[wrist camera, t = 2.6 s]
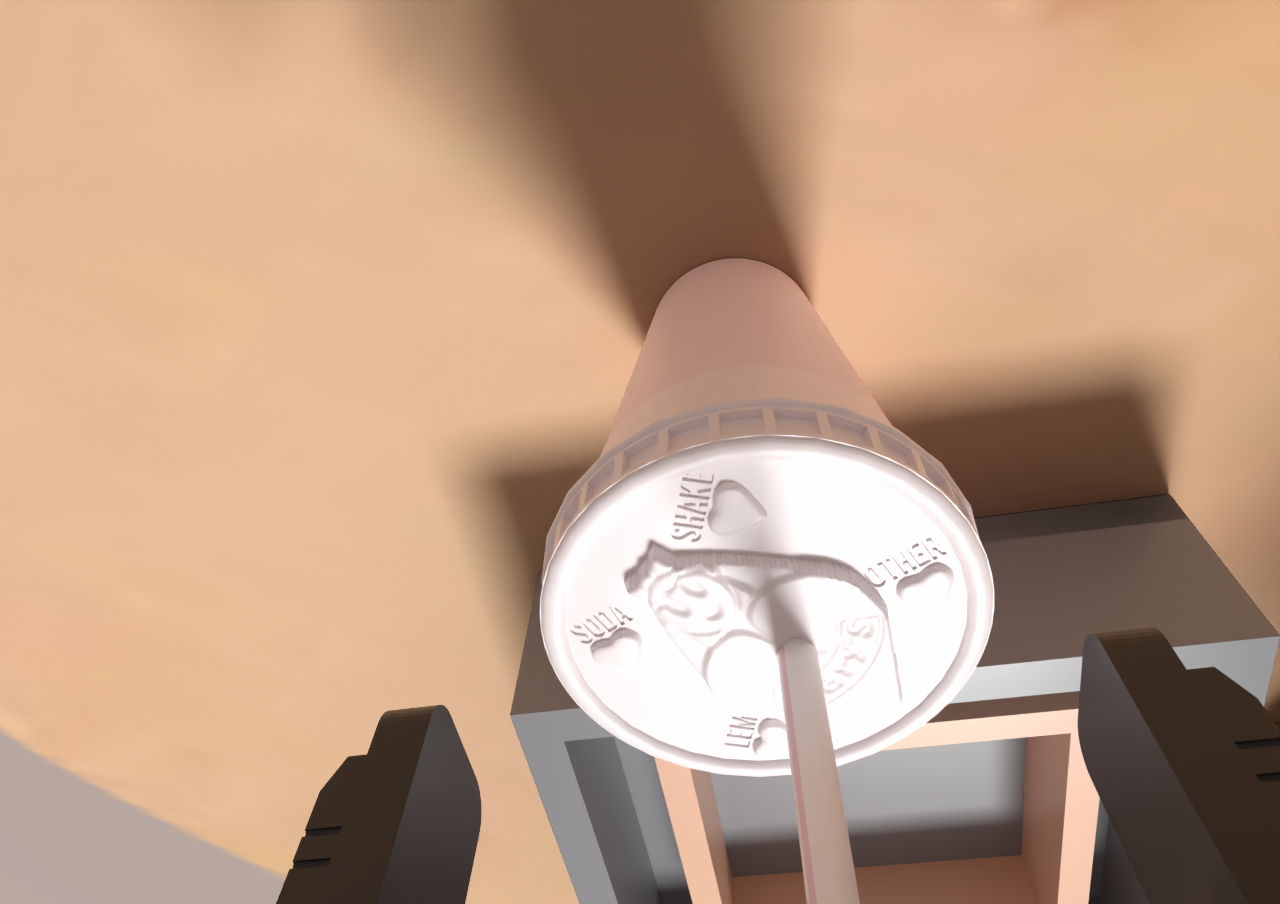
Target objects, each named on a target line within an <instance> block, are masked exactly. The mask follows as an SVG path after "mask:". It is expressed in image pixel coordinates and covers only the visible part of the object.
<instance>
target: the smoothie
mask: <svg viewBox="0 0 1280 904" xmlns="http://www.w3.org/2000/svg"><path fill="white" fill-rule="evenodd" d="M541 582H542V591H541V596H540V624H541V632H542V637H543V642H544V646H545V649H546V652H547V655H548V658H549V661H550V663H551V665H552V667H553V669H554V671H555V673H556V675H557V677H558V679H559V680H560V682H561V683H562V685H563V687H564V688H565V690H566V691H567V692H568V694H569V695H570V696H571V697H572V699H573V700H574V701H575V702H576V703H577V705H578V706H579V707H580V708H581V709H582V710H583V711H584V712H585V713H586V714H587V715H588V716H589V717H591V718H592V719H593V720H594V721H595V722H597V723H598V724H599V725H600V726H601V727H603V728H604V729H605V730H607V731H608V732H610V733H611V734H613V735H614V736H615V737H617V738H618V739H620V740H622V741H624V742H626V743H627V744H629V745H631V746H633V747H635V748H637V749H639V750H641V751H643V752H645V753H647V754H649V755H651V756H654V757H657V758H660V759H662V760H665V761H668V762H671V763H674V764H677V765H680V766H683V767H686V768H691V769H696V770H701V771H706V772H712V773H717V774H722V775H737V776H754V777H766V776H781V775H792V783H793V792H794V800H795V809H796V817H797V826H798V834H799V842H800V851H801V859H802V868H803V876H804V884H805V893H806V901H807V904H860V900H859V894H858V888H857V883H856V877H855V871H854V865H853V859H852V853H851V847H850V841H849V836H848V830H847V824H846V818H845V812H844V806H843V800H842V794H841V789H840V783H839V777H838V771H837V767H838V766H841V765H843V764H846V763H849V762H852V761H855V760H858V759H861V758H864V757H867V756H869V755H872V754H875V753H877V752H879V751H881V750H882V749H884V748H886V747H888V746H890V745H892V744H894V743H896V742H898V741H900V740H902V739H904V738H905V737H907V736H909V735H910V734H911V733H913V732H914V731H916V730H917V729H919V728H920V727H921V726H923V725H924V724H926V723H927V722H928V721H929V720H931V719H932V718H933V717H934V716H936V715H937V714H938V713H939V712H940V711H941V710H942V709H943V708H944V707H945V706H946V705H947V704H948V703H949V702H950V701H951V700H952V699H953V698H954V697H955V696H956V695H957V693H958V692H959V691H960V690H961V689H962V688H963V686H964V685H965V683H966V682H967V680H968V679H969V678H970V676H971V675H972V673H973V672H974V670H975V668H976V666H977V664H978V662H979V660H980V659H981V657H982V654H983V652H984V649H985V647H986V644H987V642H988V638H989V634H990V631H991V627H992V622H993V614H994V585H993V578H992V572H991V568H990V565H989V561H988V558H987V555H986V553H985V550H984V548H983V546H982V543H981V541H980V538H979V535H978V531H977V527H976V523H975V519H974V516H973V512H972V508H971V505H970V504H969V502H968V501H967V499H966V498H965V496H964V495H963V494H962V492H961V491H960V489H959V488H958V486H957V485H956V483H955V482H954V480H953V479H952V477H951V476H950V474H949V473H948V472H947V470H946V469H945V467H944V466H943V464H942V463H941V462H940V461H938V460H937V459H936V458H934V457H933V456H932V455H931V454H929V453H928V452H927V451H925V450H924V449H923V448H922V447H920V446H919V445H918V444H916V443H915V442H914V441H913V440H911V439H910V438H909V437H907V436H906V435H905V434H904V433H902V432H901V431H900V430H898V429H897V428H894V427H893V426H892V424H891V423H890V422H889V421H888V419H887V418H886V416H885V415H884V413H883V412H882V410H881V409H880V407H879V406H878V404H877V402H876V401H875V399H874V398H873V396H872V395H871V393H870V392H869V390H868V389H867V387H866V386H865V384H864V383H863V381H862V380H861V378H860V377H859V375H858V374H857V372H856V371H855V369H854V368H853V366H852V365H851V363H850V362H849V360H848V359H847V357H846V356H845V354H844V353H843V351H842V350H841V348H840V347H839V345H838V344H837V342H836V341H835V339H834V338H833V336H832V335H831V333H830V332H829V330H828V329H827V327H826V326H825V324H824V323H823V321H822V320H821V318H820V317H819V315H818V314H817V312H816V311H815V309H814V308H813V306H812V305H811V303H810V302H809V300H808V299H807V297H806V296H805V294H804V293H803V291H802V290H801V289H800V287H799V286H798V285H797V284H796V283H795V282H794V281H793V280H792V279H791V278H790V277H789V276H788V275H786V274H785V273H783V272H782V271H780V270H779V269H777V268H775V267H773V266H771V265H768V264H766V263H763V262H760V261H756V260H751V259H742V258H730V259H721V260H716V261H712V262H709V263H706V264H703V265H701V266H698V267H696V268H694V269H692V270H691V271H689V272H688V273H686V274H685V275H683V276H682V277H681V278H679V279H678V280H677V281H676V282H675V283H674V284H673V285H672V286H671V287H670V288H669V289H668V291H667V292H666V293H665V295H664V296H663V298H662V299H661V301H660V303H659V305H658V307H657V309H656V312H655V315H654V317H653V320H652V323H651V325H650V328H649V330H648V333H647V336H646V338H645V341H644V344H643V346H642V349H641V351H640V354H639V357H638V359H637V362H636V365H635V367H634V370H633V372H632V375H631V378H630V380H629V383H628V386H627V388H626V391H625V393H624V396H623V399H622V401H621V404H620V407H619V409H618V412H617V414H616V417H615V420H614V422H613V425H612V428H611V430H610V433H609V435H608V438H607V441H606V443H605V446H604V449H603V451H602V453H601V455H600V457H599V458H598V460H597V461H596V462H595V463H594V464H593V465H592V466H591V467H590V468H589V469H588V470H587V472H586V473H585V474H584V475H583V476H582V477H581V478H580V479H579V480H578V481H577V482H576V483H575V485H574V486H573V487H572V488H571V489H570V490H569V491H568V492H567V494H566V496H565V499H564V501H563V503H562V505H561V507H560V509H559V511H558V513H557V515H556V518H555V520H554V522H553V524H552V526H551V528H550V530H549V532H548V535H547V537H546V546H545V555H544V563H543V572H542V581H541Z"/></svg>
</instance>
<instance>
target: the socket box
mask: <svg viewBox="0 0 1280 904" xmlns="http://www.w3.org/2000/svg"><path fill="white" fill-rule="evenodd" d="M974 519H975V523H976V527H977V531H978V535H979V538H980V541H981V543H982V546H983V548H984V550H985V553H986V555H987V558H988V561H989V565H990V568H991V572H992V578H993V585H994V614H993V622H992V627H991V631H990V634H989V638H988V642H987V644H986V647H985V649H984V652H983V654H982V657H981V659H980V660H979V662H978V664H977V666H976V668H975V670H974V672H973V673H972V675H971V676H970V678H969V679H968V680H967V682H966V683H965V685H964V686H963V688H962V689H961V690H960V691H959V692H958V693H957V695H956V696H955V697H954V698H953V699H952V700H951V701H950V702H949V703H948V704H947V705H946V706H945V707H944V708H943V709H942V710H941V711H940V712H939V713H938V714H937V715H936V716H934V717H933V718H932V719H931V720H929V721H928V722H927V723H926V724H924V725H923V726H921V727H920V728H919V729H917V730H916V731H914V732H913V733H911V734H910V735H909V736H907V737H905V738H904V739H902V740H900V741H898V742H896V743H894V744H892V745H890V746H888V747H886V748H884V749H882V750H881V751H879V752H877V753H875V754H872V755H869V756H867V757H864V758H861V759H858V760H855V761H852V762H849V763H846V764H843V765H841V766H838V767H837V771H838V777H839V783H840V789H841V794H842V800H843V806H844V812H845V818H846V824H847V830H848V836H849V841H850V847H851V853H852V859H853V865H854V871H855V877H856V883H857V888H858V894H859V900H860V904H1149V902H1148V900H1147V897H1146V895H1145V893H1144V891H1143V889H1142V887H1141V885H1140V882H1139V880H1138V878H1137V876H1136V874H1135V872H1134V870H1133V867H1132V865H1131V863H1130V861H1129V859H1128V857H1127V855H1126V853H1125V850H1124V848H1123V846H1122V844H1121V842H1120V840H1119V838H1118V835H1117V833H1116V831H1115V829H1114V827H1113V825H1112V823H1111V821H1110V818H1109V816H1108V814H1107V812H1106V810H1105V808H1104V806H1103V803H1102V801H1101V799H1100V797H1099V795H1098V793H1097V791H1096V788H1095V786H1094V784H1093V782H1092V780H1091V778H1090V775H1089V773H1088V771H1087V768H1086V765H1085V762H1084V759H1083V755H1082V752H1081V747H1080V742H1079V736H1078V708H1079V695H1080V682H1081V670H1082V657H1083V646H1084V641H1085V638H1086V636H1087V635H1089V634H1097V633H1106V632H1114V631H1123V630H1132V629H1141V628H1150V627H1154V628H1157V629H1158V630H1160V631H1161V633H1162V634H1163V635H1164V636H1165V637H1166V639H1167V640H1168V642H1169V643H1170V645H1171V646H1172V648H1173V649H1174V651H1175V652H1176V654H1177V655H1178V657H1179V659H1180V660H1181V662H1182V663H1183V665H1184V666H1185V668H1186V669H1197V668H1206V667H1215V668H1217V669H1218V670H1220V671H1221V672H1222V673H1224V674H1225V675H1226V676H1228V677H1229V678H1230V679H1232V680H1233V681H1235V682H1236V683H1237V684H1239V685H1240V686H1241V687H1243V688H1244V689H1246V690H1247V691H1248V692H1250V693H1251V694H1252V695H1254V696H1255V697H1257V698H1258V700H1259V701H1260V702H1261V704H1262V705H1263V707H1264V705H1265V700H1266V696H1267V692H1268V687H1269V683H1270V679H1271V674H1272V670H1273V666H1274V661H1275V657H1276V653H1277V648H1278V644H1279V640H1280V635H1279V634H1278V633H1277V631H1276V630H1275V629H1274V628H1273V626H1272V625H1271V624H1270V622H1269V621H1268V620H1267V619H1266V617H1265V616H1264V615H1263V613H1262V612H1261V611H1260V610H1259V608H1258V607H1257V606H1256V604H1255V603H1254V602H1253V601H1252V599H1251V598H1250V597H1249V595H1248V594H1247V593H1246V592H1245V590H1244V589H1243V588H1242V586H1241V585H1240V584H1239V583H1238V581H1237V580H1236V579H1235V577H1234V576H1233V575H1232V574H1231V572H1230V571H1229V570H1228V568H1227V567H1226V566H1225V565H1224V563H1223V562H1222V561H1221V559H1220V558H1219V557H1218V556H1217V554H1216V553H1215V552H1214V550H1213V549H1212V548H1211V547H1210V545H1209V544H1208V543H1207V541H1206V540H1205V539H1204V538H1203V536H1202V535H1201V534H1200V532H1199V531H1198V530H1197V529H1196V527H1195V526H1194V525H1193V523H1192V522H1191V521H1190V520H1189V518H1188V517H1187V516H1186V515H1185V513H1184V512H1183V511H1182V509H1181V508H1180V507H1179V506H1178V504H1177V503H1176V502H1175V500H1174V499H1173V498H1172V497H1171V495H1170V494H1169V495H1161V496H1153V497H1145V498H1137V499H1128V500H1120V501H1112V502H1104V503H1096V504H1088V505H1080V506H1072V507H1063V508H1055V509H1047V510H1039V511H1031V512H1023V513H1015V514H1006V515H998V516H990V517H982V518H974ZM541 581H542V572H539V576H538V581H537V586H536V591H535V596H534V601H533V606H532V611H531V616H530V620H529V625H528V630H527V635H526V640H525V645H524V650H523V655H522V660H521V664H520V669H519V674H518V679H517V684H516V689H515V694H514V699H513V704H512V708H511V713H510V716H511V719H512V722H513V724H514V727H515V730H516V733H517V735H518V738H519V741H520V743H521V746H522V749H523V752H524V754H525V757H526V760H527V762H528V765H529V768H530V771H531V773H532V776H533V779H534V781H535V784H536V787H537V789H538V792H539V795H540V798H541V800H542V803H543V806H544V808H545V811H546V814H547V817H548V819H549V822H550V825H551V827H552V830H553V833H554V835H555V838H556V841H557V844H558V846H559V849H560V852H561V854H562V857H563V860H564V863H565V865H566V868H567V871H568V873H569V876H570V879H571V882H572V884H573V887H574V890H575V892H576V895H577V898H578V900H579V903H580V904H807V901H806V893H805V884H804V876H803V868H802V859H801V851H800V842H799V834H798V826H797V817H796V809H795V800H794V792H793V783H792V775H781V776H766V777H754V776H737V775H722V774H717V773H712V772H706V771H701V770H696V769H691V768H686V767H683V766H680V765H677V764H674V763H671V762H668V761H665V760H662V759H660V758H657V757H654V756H651V755H649V754H647V753H645V752H643V751H641V750H639V749H637V748H635V747H633V746H631V745H629V744H627V743H626V742H624V741H622V740H620V739H618V738H617V737H615V736H614V735H613V734H611V733H610V732H608V731H607V730H605V729H604V728H603V727H601V726H600V725H599V724H598V723H597V722H595V721H594V720H593V719H592V718H591V717H589V716H588V715H587V714H586V713H585V712H584V711H583V710H582V709H581V708H580V707H579V706H578V705H577V703H576V702H575V701H574V700H573V699H572V697H571V696H570V695H569V694H568V692H567V691H566V690H565V688H564V687H563V685H562V683H561V682H560V680H559V679H558V677H557V675H556V673H555V671H554V669H553V667H552V665H551V663H550V661H549V658H548V655H547V652H546V649H545V646H544V642H543V637H542V632H541V624H540V596H541V591H542V582H541Z"/></svg>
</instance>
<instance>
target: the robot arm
mask: <svg viewBox="0 0 1280 904" xmlns="http://www.w3.org/2000/svg"><path fill="white" fill-rule="evenodd" d="M1078 736H1079V742H1080V747H1081V752H1082V755H1083V759H1084V762H1085V765H1086V768H1087V771H1088V773H1089V775H1090V778H1091V780H1092V782H1093V784H1094V786H1095V788H1096V791H1097V793H1098V795H1099V797H1100V799H1101V801H1102V803H1103V806H1104V808H1105V810H1106V812H1107V814H1108V816H1109V818H1110V821H1111V823H1112V825H1113V827H1114V829H1115V831H1116V833H1117V835H1118V838H1119V840H1120V842H1121V844H1122V846H1123V848H1124V850H1125V853H1126V855H1127V857H1128V859H1129V861H1130V863H1131V865H1132V867H1133V870H1134V872H1135V874H1136V876H1137V878H1138V880H1139V882H1140V885H1141V887H1142V889H1143V891H1144V893H1145V895H1146V897H1147V900H1148V902H1149V904H1280V729H1279V727H1278V726H1277V725H1276V723H1275V722H1274V721H1273V719H1272V718H1271V716H1270V715H1269V714H1268V712H1267V711H1266V709H1265V708H1264V707H1263V705H1262V704H1261V702H1260V701H1259V700H1258V698H1257V697H1255V696H1254V695H1252V694H1251V693H1250V692H1248V691H1247V690H1246V689H1244V688H1243V687H1241V686H1240V685H1239V684H1237V683H1236V682H1235V681H1233V680H1232V679H1230V678H1229V677H1228V676H1226V675H1225V674H1224V673H1222V672H1221V671H1220V670H1218V669H1217V668H1215V667H1206V668H1197V669H1186V668H1185V666H1184V665H1183V663H1182V662H1181V660H1180V659H1179V657H1178V655H1177V654H1176V652H1175V651H1174V649H1173V648H1172V646H1171V645H1170V643H1169V642H1168V640H1167V639H1166V637H1165V636H1164V635H1163V634H1162V633H1161V631H1160V630H1158V629H1157V628H1154V627H1150V628H1141V629H1132V630H1123V631H1114V632H1106V633H1097V634H1089V635H1087V636H1086V638H1085V641H1084V646H1083V657H1082V670H1081V682H1080V695H1079V708H1078ZM480 825H481V798H480V791H479V786H478V782H477V779H476V777H475V774H474V772H473V769H472V767H471V764H470V762H469V759H468V757H467V754H466V752H465V749H464V747H463V744H462V742H461V740H460V737H459V735H458V732H457V730H456V727H455V725H454V722H453V720H452V717H451V715H450V713H449V711H448V710H447V708H446V707H445V706H443V705H436V706H427V707H419V708H410V709H401V710H392V711H387V712H385V713H384V714H383V715H382V717H381V718H380V720H379V723H378V725H377V728H376V731H375V734H374V737H373V739H372V742H371V745H370V748H369V751H368V754H367V755H359V756H350V757H347V759H346V760H345V761H344V762H343V764H342V765H341V766H340V767H339V769H338V770H337V771H336V772H335V774H334V775H333V776H332V777H331V779H330V780H329V781H328V782H327V783H326V785H325V786H324V787H323V788H322V790H321V791H320V793H319V795H318V798H317V801H316V803H315V806H314V808H313V811H312V813H311V816H310V818H309V821H308V824H307V826H306V829H305V831H306V835H305V837H302V839H301V841H300V844H299V847H298V849H297V852H296V854H295V857H294V859H293V863H294V865H293V869H290V870H289V872H288V875H287V877H286V880H285V882H284V885H283V888H282V890H281V893H280V895H279V898H278V900H277V903H276V904H465V901H466V896H467V891H468V886H469V881H470V876H471V871H472V866H473V862H474V857H475V852H476V847H477V842H478V837H479V832H480Z"/></svg>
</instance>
